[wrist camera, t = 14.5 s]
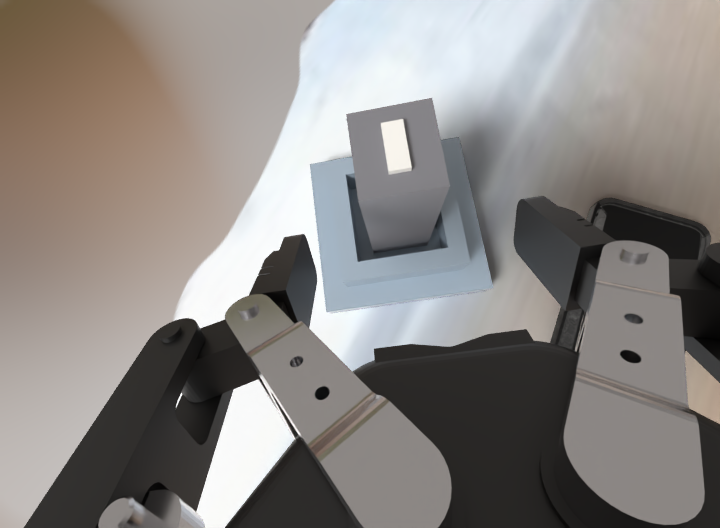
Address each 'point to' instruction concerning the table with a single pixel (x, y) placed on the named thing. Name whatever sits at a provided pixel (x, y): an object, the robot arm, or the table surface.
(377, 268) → the outlet box
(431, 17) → the table surface
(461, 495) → the robot arm
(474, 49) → the table surface
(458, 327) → the table surface
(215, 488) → the table surface
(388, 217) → the block
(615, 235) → the phone
